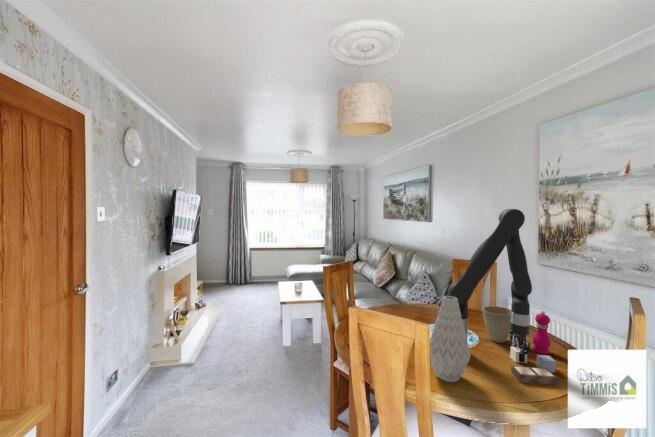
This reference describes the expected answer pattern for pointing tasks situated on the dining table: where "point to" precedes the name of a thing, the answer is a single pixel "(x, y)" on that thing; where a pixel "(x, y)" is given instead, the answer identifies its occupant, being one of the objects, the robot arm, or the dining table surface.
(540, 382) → the plank
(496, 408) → the dining table surface
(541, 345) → the pepper mill
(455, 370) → the vase
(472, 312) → the dining table surface
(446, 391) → the dining table surface
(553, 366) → the cube blue
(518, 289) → the robot arm
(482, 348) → the dining table surface
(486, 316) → the plant pot
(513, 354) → the cube cream
